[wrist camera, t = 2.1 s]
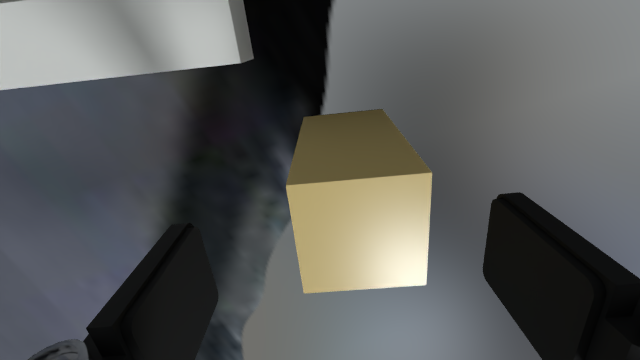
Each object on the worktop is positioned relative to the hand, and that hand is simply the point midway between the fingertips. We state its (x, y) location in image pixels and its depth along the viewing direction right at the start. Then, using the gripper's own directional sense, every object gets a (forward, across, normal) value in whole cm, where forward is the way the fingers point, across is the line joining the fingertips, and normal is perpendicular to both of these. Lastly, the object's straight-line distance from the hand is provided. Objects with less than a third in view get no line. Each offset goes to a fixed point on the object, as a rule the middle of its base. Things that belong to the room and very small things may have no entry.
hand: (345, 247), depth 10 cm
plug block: (+7, -1, -1) cm, 8 cm away
